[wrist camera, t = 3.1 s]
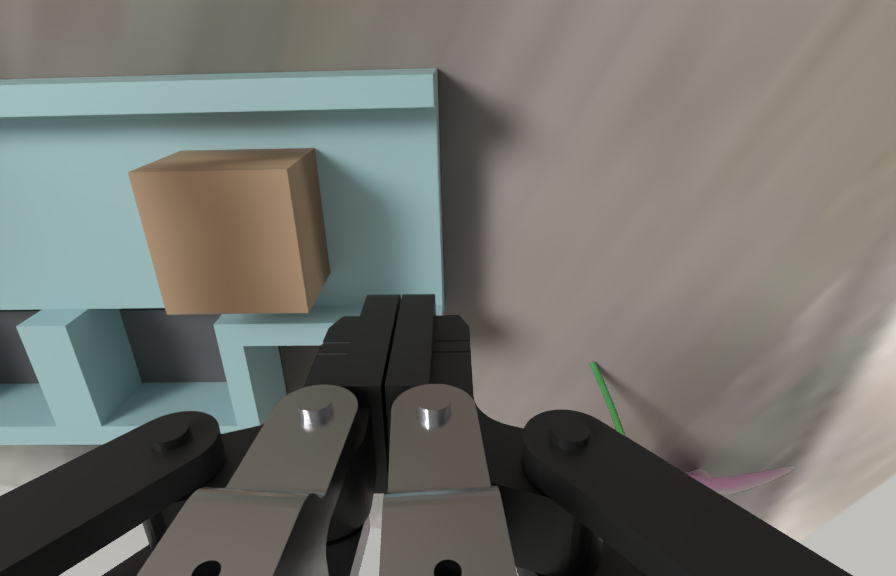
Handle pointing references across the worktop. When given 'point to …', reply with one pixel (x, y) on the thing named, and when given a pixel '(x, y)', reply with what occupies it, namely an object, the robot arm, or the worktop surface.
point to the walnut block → (234, 230)
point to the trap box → (127, 254)
